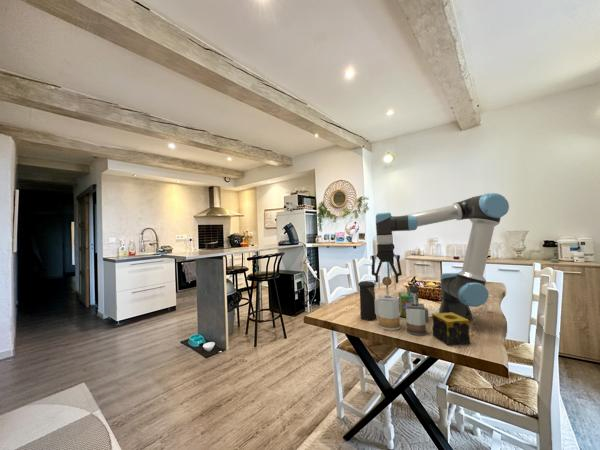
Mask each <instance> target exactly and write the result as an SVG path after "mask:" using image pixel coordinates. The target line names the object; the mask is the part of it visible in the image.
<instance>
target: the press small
mask: <svg viewBox="0 0 600 450" xmlns="http://www.w3.org/2000/svg"><path fill="white" fill-rule="evenodd" d="M405 318H406V333H408V334H410V335H413V336H418V337H421V336H426V335H427V327H426V326H427V324H429V320H430V319H429V309H428V308H427V307H425V305H424V303H416V306H414V303H406V317H405Z"/></svg>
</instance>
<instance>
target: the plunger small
mask: <svg viewBox="0 0 600 450" xmlns="http://www.w3.org/2000/svg"><path fill="white" fill-rule="evenodd" d="M408 288H409V289H410V293H413V299H414V306H416V297H415V294H417V293H418V292H419V290H420V289H419V286H418V285H417V284H416V283H413V284H412V283H411V284H410V285H409V287H408Z"/></svg>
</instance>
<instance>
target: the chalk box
mask: <svg viewBox="0 0 600 450" xmlns="http://www.w3.org/2000/svg"><path fill="white" fill-rule="evenodd" d="M397 296H398V299H399V316H401V318H406V303H414V299H413V292H411V291H410V289H409V287H408V289H407V292H403V291H402V292H400V291H399V292H398V294H397ZM415 297H416V303H419V302H420V301H419V296H418V295H417V293H415Z"/></svg>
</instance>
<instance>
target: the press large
mask: <svg viewBox="0 0 600 450" xmlns="http://www.w3.org/2000/svg"><path fill="white" fill-rule="evenodd" d="M374 301H375V314H376V315H377V316H378V317H377V319H378V325H377V326H378V327H379V328H380V329H382V330H386V331H398V330H400V329H401V328H402V327H401V319H400V318H401V317H400V316H401V315H400V313H399V297H398V295H393V294H392V295H390V294H389V298H387V294H378V296H377V298H375V300H374ZM388 301H389V302H388Z"/></svg>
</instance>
